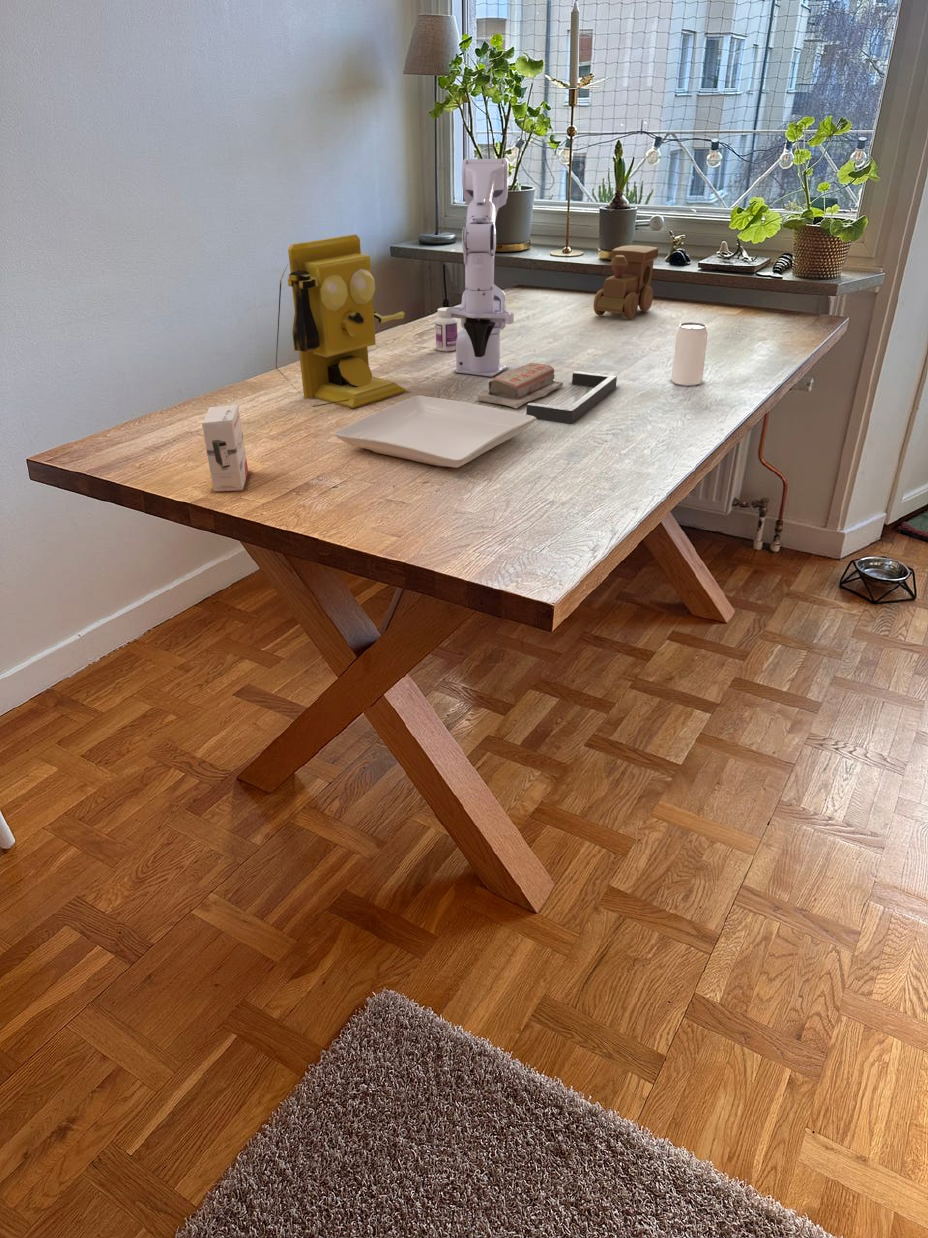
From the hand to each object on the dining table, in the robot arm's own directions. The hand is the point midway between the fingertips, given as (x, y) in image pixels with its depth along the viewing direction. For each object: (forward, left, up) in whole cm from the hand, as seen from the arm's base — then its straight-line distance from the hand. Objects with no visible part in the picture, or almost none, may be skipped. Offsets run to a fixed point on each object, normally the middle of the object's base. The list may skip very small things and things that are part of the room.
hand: (479, 355), depth 188 cm
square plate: (+7, -33, -7) cm, 35 cm away
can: (+38, +23, -7) cm, 45 cm away
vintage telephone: (-23, -15, -7) cm, 28 cm away
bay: (+20, 0, -7) cm, 22 cm away
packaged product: (+9, 0, -7) cm, 12 cm away
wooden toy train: (+4, +82, -7) cm, 83 cm away
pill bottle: (-23, +27, -7) cm, 36 cm away
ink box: (-15, -64, -7) cm, 66 cm away
